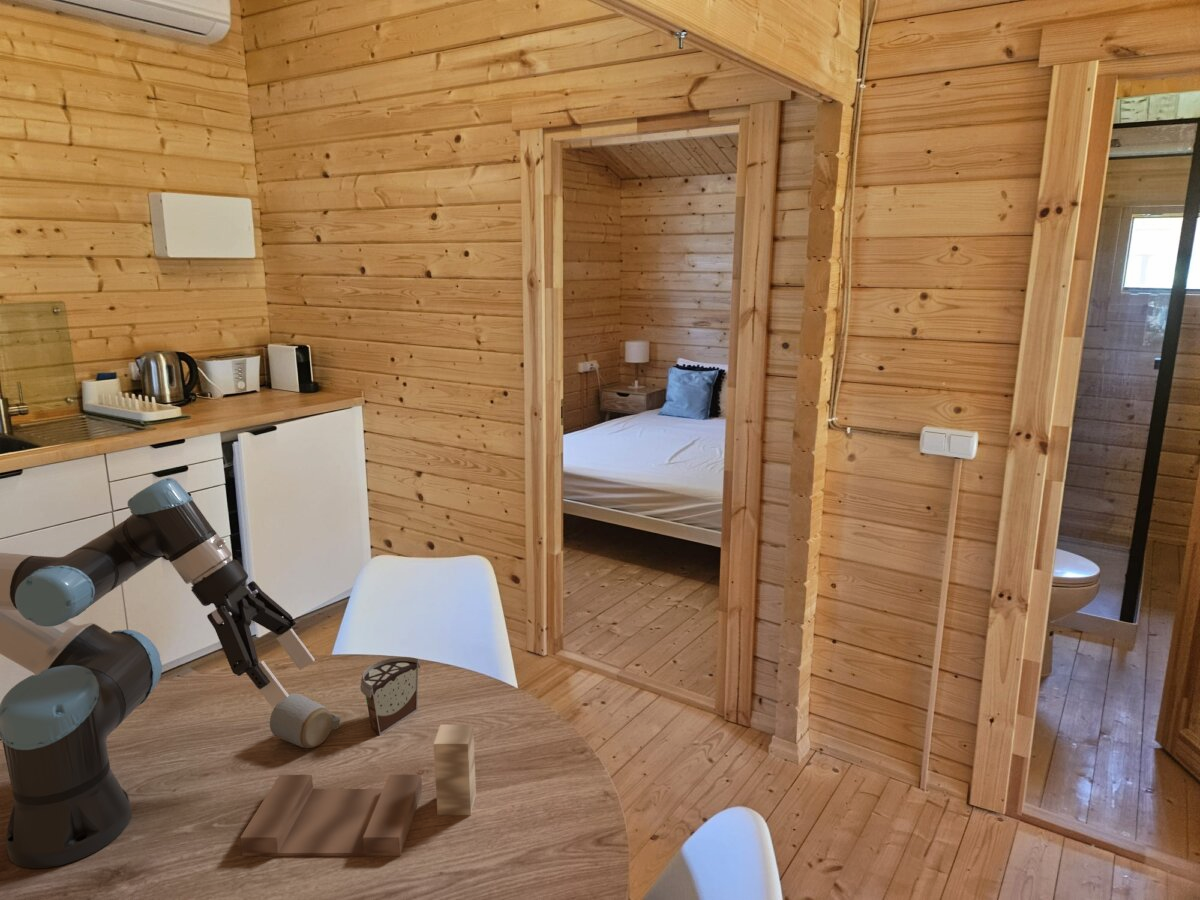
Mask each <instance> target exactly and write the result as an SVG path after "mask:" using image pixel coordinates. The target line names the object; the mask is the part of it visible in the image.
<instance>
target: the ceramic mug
mask: <svg viewBox="0 0 1200 900" xmlns="http://www.w3.org/2000/svg"><path fill="white" fill-rule="evenodd" d="M288 695H289V696H288V697H287V698H286V699H284V700H283V701H281V702H280V703H278V704H277V705H275V706H274V708H273V709H272V712H271V715H270V717H269V728H270V731H271V733H272V734H273V735H274V736H275V737H277V738H279V739H281V740H283V741H286V742H288V743H290V744H293V745H295V746H298V747H300V748H304V749H315V748H317V747H319V746H320V745H321V744H322V743H324V742H325V740H326V739H327V738H328V736H329V735H330V732H331V731H333V730H336V729H338V727H339V725H340V722H341V721H340V717H339V716H337V715H336V714H333V713H332V712H331V711H330V710H329V708H327V707H326V706H324V705H323V704H320V703H319V702H316V701H314V700H312V699H310V698H308V697H306V696H305V695H302V694H300V693H296V692H295V693H288Z"/></svg>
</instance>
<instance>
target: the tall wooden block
mask: <svg viewBox="0 0 1200 900" xmlns="http://www.w3.org/2000/svg"><path fill="white" fill-rule="evenodd" d="M474 735H475V734H474V724H440V725H439V727H438V731H437V733H436V737H435V739H434V741H433V756H434V774H435V775H434V776H435V777H434V778H435V791H436V793H435V794H436V809H437V810H436V811H437V812H436V813H437V816H472V813H473V812H472V811H473V809H472V808H474V804H475V801H476V800H475V799H476V796H477V786H476V783H477V782H476V762H475V761H476V760H475V737H474Z"/></svg>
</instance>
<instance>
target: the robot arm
mask: <svg viewBox="0 0 1200 900" xmlns="http://www.w3.org/2000/svg"><path fill="white" fill-rule="evenodd" d="M127 507H128V509H129V510H130V513H131V515H130V516H129V517H127V518H126V519H125V520H123V521H121V522H120V523H118V524H117V525H116V526H113V527H112V528H111V529H108V530H107V531H106V532H104V533H102V534H101V535H99V536H97V537H95V538H93V539H92V540H90V541H89V542H87V543H85V544H83V545H82V546H80V547H77V548H76V549H75V550H73V551H71V552H69V553H67V554H66V555H64V556H58V557H57V556H41V555H30V554H20V553H19V554H18V553H8V552H0V655H1V656H3V657H5V658H7V659H8V660H10V661H12V662H14V663H16V664H17V665H19V666H21V668H22V667H23V668H24V669H26V670H28V671H29V672H31V673H32V675H29V676H27V677H25V678H24V679H22V680H21V681H20V682H18V683H16V684H15V685H14V686H13V687H11V688H10V690H8V692H7V693H6V694H5V695H4V696H3V698H2V700H1V702H0V739H1V741H2V742H1V743H2V746H3V751H4V755H5V761H6V765H7V766H6V767H7V771H8V772H7V773H8V775H9V781H10V786H11V791H12V796H13V803H12V807H11V811H10V816H9V821H8V826H7V828H6V829H7V830H6V835H5V845H6V849H7V855H8V858H9V860H10V861H11V862H12V863H13V864H15V865H16V866H19V867H22V868H26V869H27V868H28V869H47V868H54V867H59V866H62V865H66V864H70V863H73V862H76V861H78V860H81V859H83V858H86V857H88V856H91V855H92V854H94V853H96V852H98V851H100V850H101V849H103V848H105V847H106V846H107V845H109V844H110V843H112V842H113V841H115V839H117V838H118V837H119V836H120V835H121V834H122V833H123V832H124V830H125V829H126V828H127V826H128V825H129V823H130V821H131V818H132V808H131V801H130V797H129V795H128V793H127V792H126V791H125V789H123V788H122V786H121V784H120V782H119V781H118V779H117V777H116V775H115V774H114V773H113V771H112V768H111V764H110V759H109V752H108V745H107V744H108V743H107V739H108V737H109V736H110V735H111V734H112V733H113V731H115V729H117V728H118V727H119V726H120V725H121V724H122V723H123V722H124V721H125V720H126V719H127V718H128V716H130V715H131V714H132V712H134V711H135V710H136V708H138V707H139V706H140V705H142V704H143V703H144V702H145V701H147V699H148V697H149V695H150V694H151V693H152V692H153V690H155V688H156V687H157V686H158V683H159V681H160V680H161V676H162V668H163V667H162V666H163V664H162V661H161V655H160V652H159V650H158V648H157V646H156V645H155V644H154V642H153V641H152V640H151V639H149V637H148V636H146V635H144V634H142V633H141V632H138V631H136V630H132V629H127V628H126V629H122V630H121V629H118V630H113V631H111V632H109V631H108V630H106V629H105V628H102V627H101V626H99V625H97V624H96V623H93V622H88V623H84V624H80V625H79V624H78V625H77V624H74V622H71V621H70V620H71V619H74V618H76V617H79V615H81V614H82V613H84V612H85V611H86V610H87V609H88V608H89V607H91V606H92V605H94V604H95V603H96V602H98V601H99V600H100V599H102V598H103V597H105V596H106V595H107V594H109V593H110V592H112V591H113V590H115V589H116V588H117V587H119V586H121V585H122V584H124V583H125V582H127V581H128V580H129V579H130V578H132V577H133V576H134V575H136V574H138V573H140V572H141V571H143V570H144V569H145V568H146V567H148V566H149V565H151V564H152V563H154V562H155V561H157V560H158V559H160V558H162V557H164V556H165V557H166V559H167V560H168V561H169V563H170V565H172V567H173V568H174V569H175V571H176V572H177V574H178V575H179V576H180V578H181V579H182V580H183V582H184V583H185V584H186V585H189V584H191V585H192V586H190V587H191V592H192V594H193V595H194V597H196V598H197V600H198V601H199V603H200V604H201V606H204V607H207V606H210V605H212V604H213V605H214V608H215V609H214V610H213V611H211V612H210V613H208V614H207V615H206V618H207V619H208V621H209V623H210V624H211V625H212V627H213V629H214V630H215V634H216V635H217V638H218V641H219V643H220V645H221V647H222V650H223V652H224V654H225V658H226V659H227V662H228V664H229V667H230V669H231V671H232V673H233V674H234V675H237V676H238V677H240V676H242V675H244V674H246V675H247V677H248V678H249V679H250V680H251V682H252V683H253V684H254V685H255V687H256V688H257V690H258V691H259V693H260V694H261V695H262V696H263V697H264V699H265V700H266V702H267V703H268V704H269V705H270V706H271V708H273V707H275V706H276V705H277V704H278V703H280V702H281V701H283V700H284V699H286V698H287V697H288V696H289V693H288V692H287V691H286V689H285V688H284V686H283V685H282V684H281V683H280V681H279V680H278V679H277V678H276V676H275V674H274V673H273V672H272V670H271V669H270V668H269V666H267V664H266V662H265V661H264V660H263V659H262V660H261V661H259V658H258V654H257V649H256V647H255V643H254V638H253V635H252V631H251V629H250V626H251V624H252V622H255V623H256V624H257V625H260V626H262V627H263V628H265V629H267V630H268V631H271V632H272V633H274V634H275V635H277V637H276V640H277V641H278V643H279V645H281V647H282V649H284V651H285V653H286V654H287V655H288V656H289V658H290V659H291V661H292V662H293V663H294V665H295V666H296V667H297V669H298V670H299V671H302V670H303V669H305V668H306V667H308V666H309V665H310V664H312V663H314V662H315V660H316V659H315V658H314V656H313V655H312V653H311V652H310V651H309V650H308V648H307V647H306V645H305V644H304V643H303V641H302V640H301V638H299V636H298V635H297V634H296V632H295V631H294V629H293V628H292V627H294V626H295V625H297V623H296V620H295V619H294V618H293V616H292V615H291V614H290V613H289V612H288V611H286V610H285V609H284V608H283V607H282V606H281V605H279V603H277V602H276V601H275V600H274V599H272V598H271V597H270V596H269V595H268V594H266V592H264V591H263V590H262V589H261V588H260V586H259V585H258V584H257V582H255V581H254V580H252V581H250V582H249V583H247V584H245V585H244V584H243V583H245V582H246V581H247V580H248V579H249V575H248V573H247V572H246V569H245V568H243V566H242V565H241V563H240V562H239V560H238V559H235V558H233V559H231V557H232V555H233V553H232V551H231V550H230V549H229V548H228V546H227V544H226V542H227V541H226V539H225V538H221V537H220V535H219V534H218V533H217V531H216V530H215V529H214V528H213V527H212V525H211V524H210V523H209V521H208V520H207V517H206V516H205V515H204V514H203V513H202V510H201V509H200V508H199V506H197V504H196V503H195V501H194V498H193V497H192V496H190V495H189V493H188V492H187V490H185V488H183V486H182V485H181V484H180V483H179V481H177V479H174V478H172V477H166V478H163V479H161V480H158V481H156V482H154V483H152V484H150V485H149V486H147V487H145V488H143V489H142V490H140V491H139V492H137V493H136V494H134V495H133V496H132V497H130V498H129V499H128V501H127Z"/></svg>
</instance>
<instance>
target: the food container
mask: <svg viewBox="0 0 1200 900" xmlns="http://www.w3.org/2000/svg"><path fill="white" fill-rule="evenodd" d="M419 669H421V664H420V661H419V658H418V657H417V658H416V657H411V656H395V657H390V658H386V659H381V660H380V661H377V662H374V663H372V664H371V665H369V666H368V667H367V668H366V669H365V670H364V672H363V674H362V676H361V679H360V686H359V687H360V692H361V693H362V694H363V695H364V696H365V699H366V706H367V710H368V717H369V722H370V728H371V730H372V732H374V733H375V734H376V735H378V736H381V735H382V734H385V733H386V732H387V731H389V730H390V729H391V728H393V727H395V726H396V725H398V724H399V723H401V722H402V721H404V720H405V719H406V718H408V717H410V716H411V715H412V714H414V713H416V712H417V711H418V693H419V692H418V688H419V686H418V685H419V684H418V683H419Z"/></svg>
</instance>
